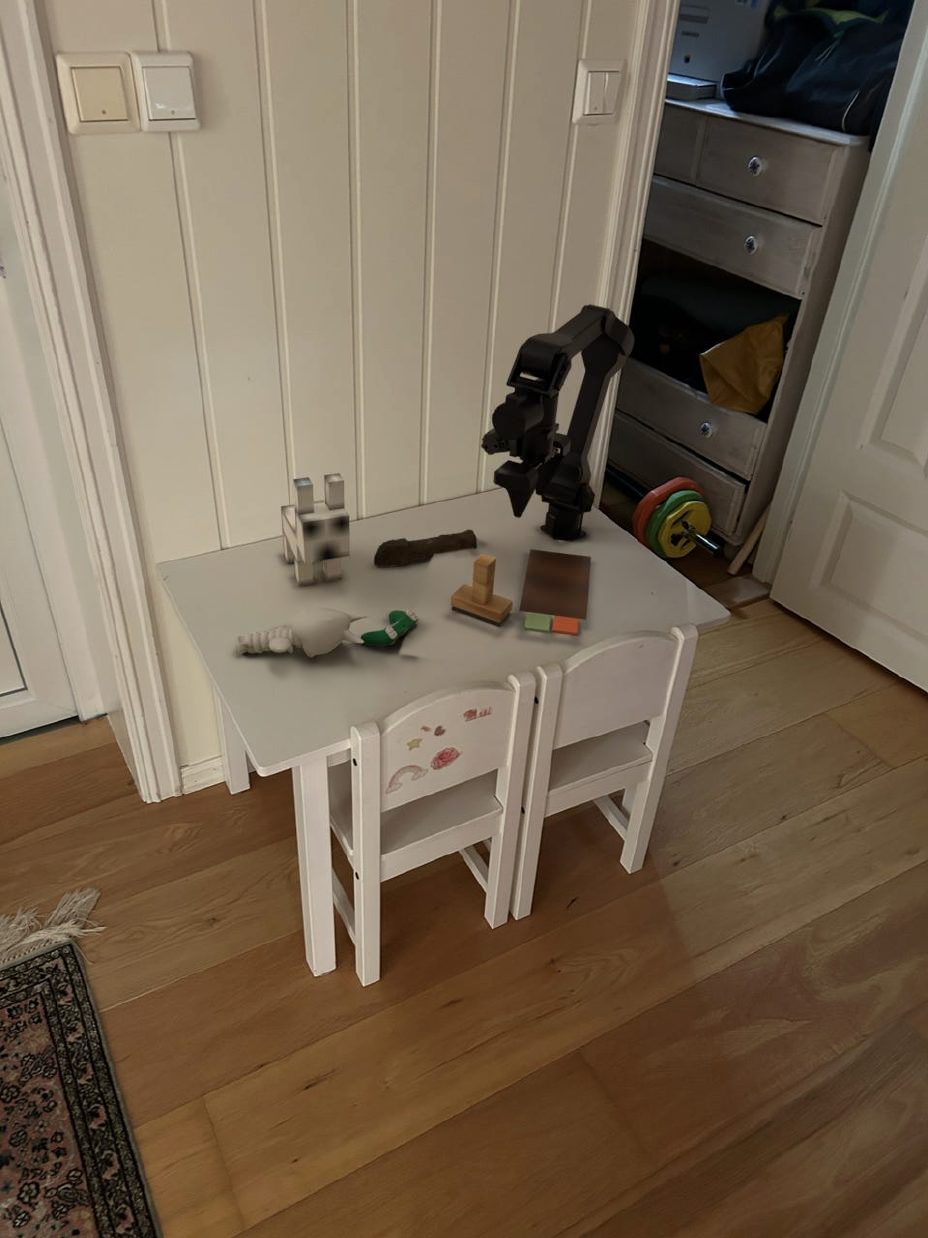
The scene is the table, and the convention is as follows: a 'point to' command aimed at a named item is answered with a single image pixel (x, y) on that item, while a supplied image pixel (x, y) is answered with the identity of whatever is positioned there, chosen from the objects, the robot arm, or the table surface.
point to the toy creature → (304, 633)
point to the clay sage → (537, 623)
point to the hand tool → (422, 548)
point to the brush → (482, 595)
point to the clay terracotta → (565, 625)
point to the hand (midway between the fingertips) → (528, 505)
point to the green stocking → (391, 629)
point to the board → (556, 584)
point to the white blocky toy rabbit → (316, 529)
